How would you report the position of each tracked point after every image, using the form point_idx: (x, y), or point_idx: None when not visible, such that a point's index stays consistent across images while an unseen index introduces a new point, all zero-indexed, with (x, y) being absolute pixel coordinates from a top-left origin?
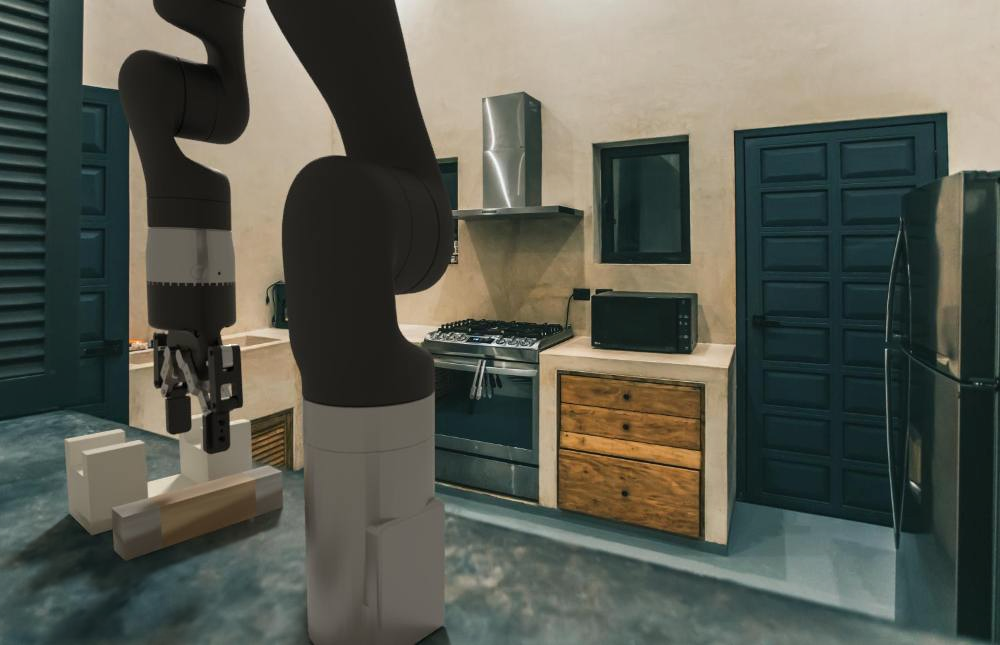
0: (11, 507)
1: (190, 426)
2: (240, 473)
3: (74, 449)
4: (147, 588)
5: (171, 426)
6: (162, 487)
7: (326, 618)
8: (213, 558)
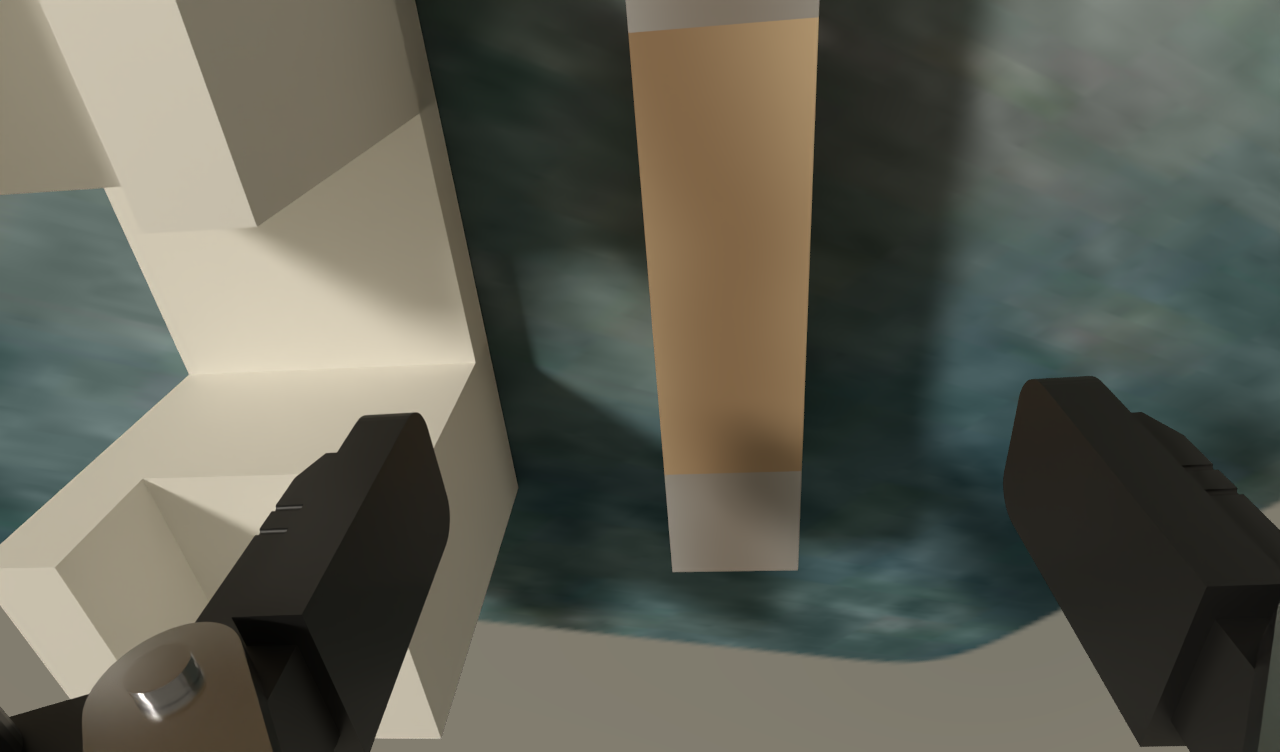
0: None
1: (408, 426)
2: (641, 44)
3: None
4: None
5: (436, 554)
6: (259, 262)
7: None
8: (1010, 287)
